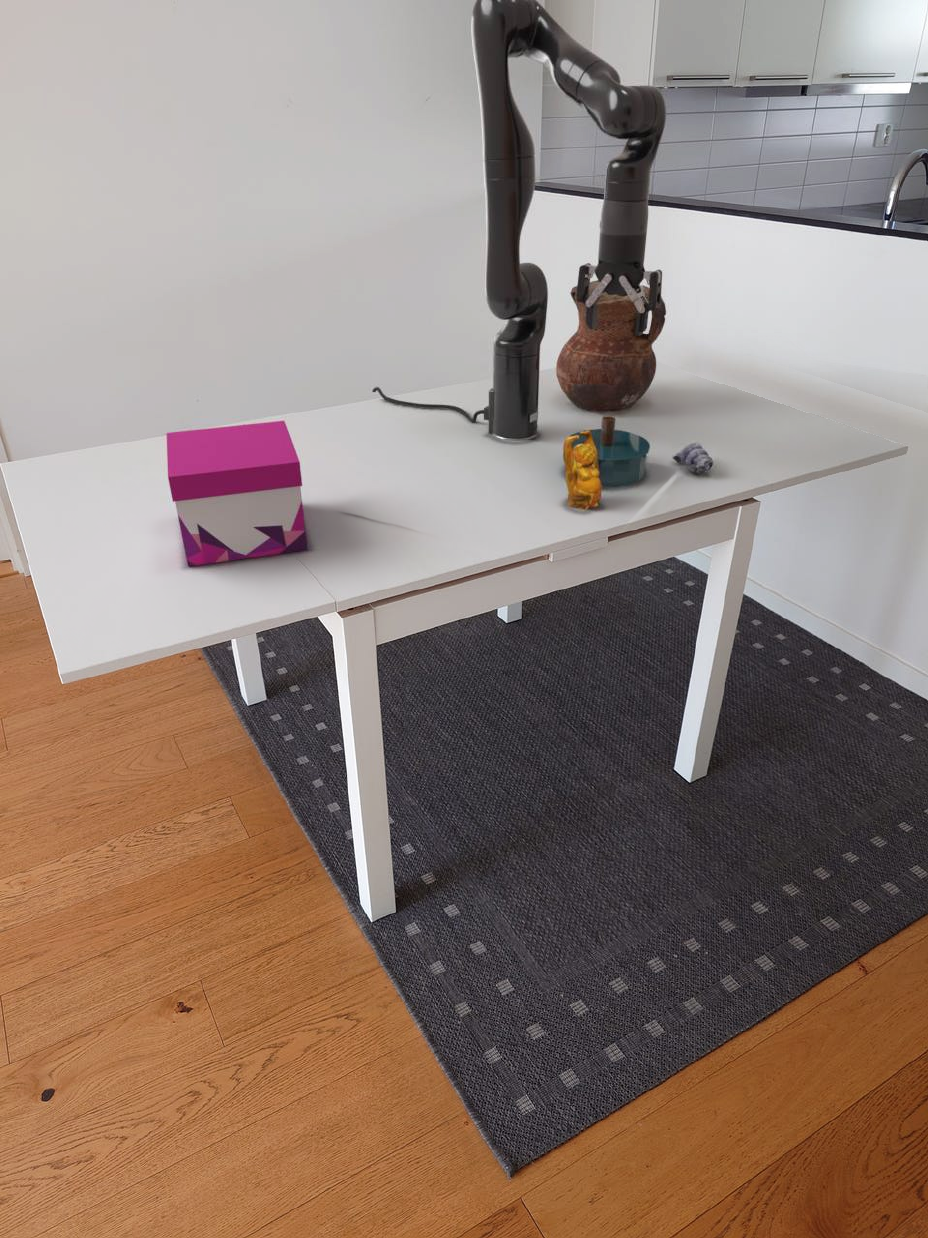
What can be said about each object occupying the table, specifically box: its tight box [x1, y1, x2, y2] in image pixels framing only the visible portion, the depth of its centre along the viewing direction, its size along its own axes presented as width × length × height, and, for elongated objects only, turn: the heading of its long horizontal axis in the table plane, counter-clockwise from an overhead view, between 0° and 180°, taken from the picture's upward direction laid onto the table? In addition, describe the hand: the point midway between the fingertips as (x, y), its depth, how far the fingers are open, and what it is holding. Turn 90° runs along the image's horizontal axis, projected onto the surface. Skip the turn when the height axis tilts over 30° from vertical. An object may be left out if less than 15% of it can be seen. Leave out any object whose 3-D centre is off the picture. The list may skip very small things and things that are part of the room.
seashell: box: [672, 442, 714, 474], centre depth 166 cm, size 5×5×10 cm
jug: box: [555, 279, 667, 413], centre depth 194 cm, size 22×21×25 cm
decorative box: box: [166, 420, 308, 567], centre depth 142 cm, size 19×19×15 cm
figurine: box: [562, 429, 603, 510], centre depth 151 cm, size 6×7×13 cm
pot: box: [564, 454, 647, 488], centre depth 164 cm, size 15×20×5 cm
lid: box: [563, 415, 651, 462], centre depth 162 cm, size 16×16×6 cm
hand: (615, 331), depth 152 cm, fingers open, 8 cm apart
